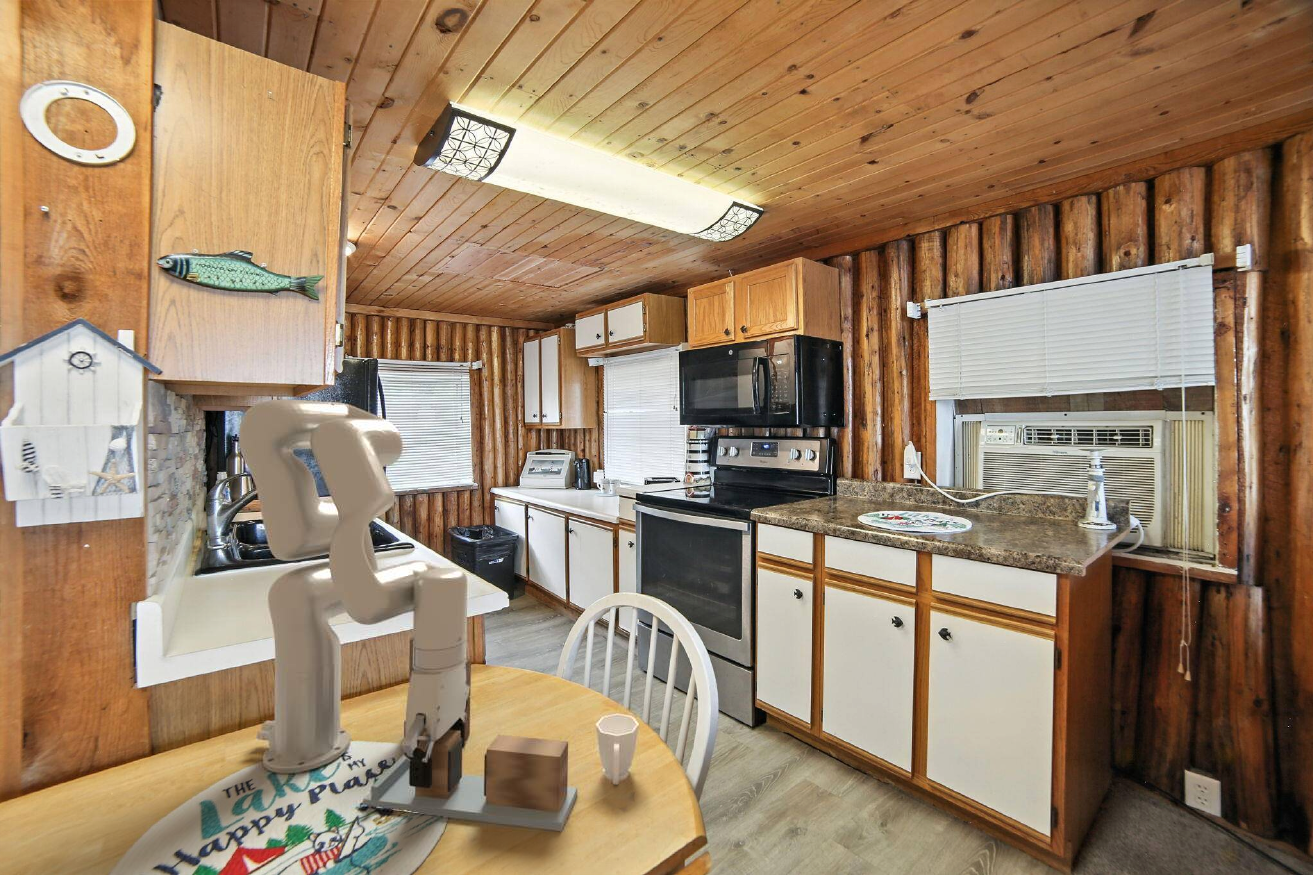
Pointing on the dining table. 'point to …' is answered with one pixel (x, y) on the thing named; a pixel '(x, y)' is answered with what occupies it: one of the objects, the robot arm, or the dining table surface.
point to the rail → (461, 801)
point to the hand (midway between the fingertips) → (438, 765)
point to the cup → (617, 744)
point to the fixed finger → (526, 773)
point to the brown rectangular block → (443, 765)
